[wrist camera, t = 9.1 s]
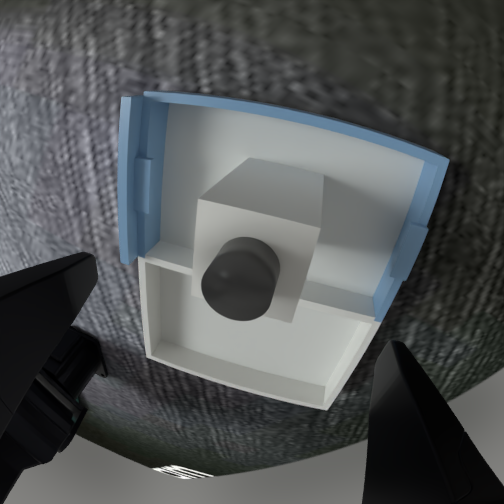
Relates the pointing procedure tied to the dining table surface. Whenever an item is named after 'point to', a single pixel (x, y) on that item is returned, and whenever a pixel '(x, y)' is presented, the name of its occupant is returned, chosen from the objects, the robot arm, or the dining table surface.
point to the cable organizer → (325, 254)
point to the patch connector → (257, 240)
